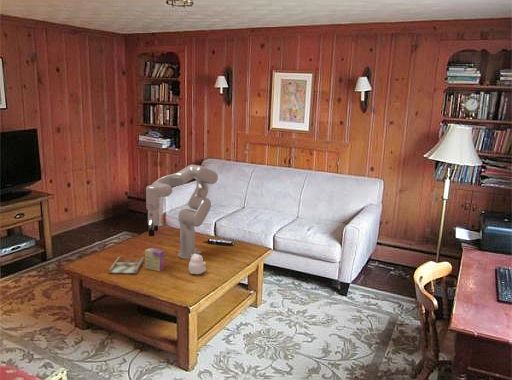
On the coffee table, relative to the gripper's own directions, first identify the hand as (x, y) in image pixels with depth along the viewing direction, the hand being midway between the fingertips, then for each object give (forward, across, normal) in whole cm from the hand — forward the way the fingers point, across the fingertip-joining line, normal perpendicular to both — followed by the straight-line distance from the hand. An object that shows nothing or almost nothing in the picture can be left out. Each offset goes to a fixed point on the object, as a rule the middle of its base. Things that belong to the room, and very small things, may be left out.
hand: (153, 233), depth 258 cm
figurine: (+23, -6, -27) cm, 36 cm away
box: (+23, 0, -1) cm, 23 cm away
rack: (+22, -1, +16) cm, 28 cm away
